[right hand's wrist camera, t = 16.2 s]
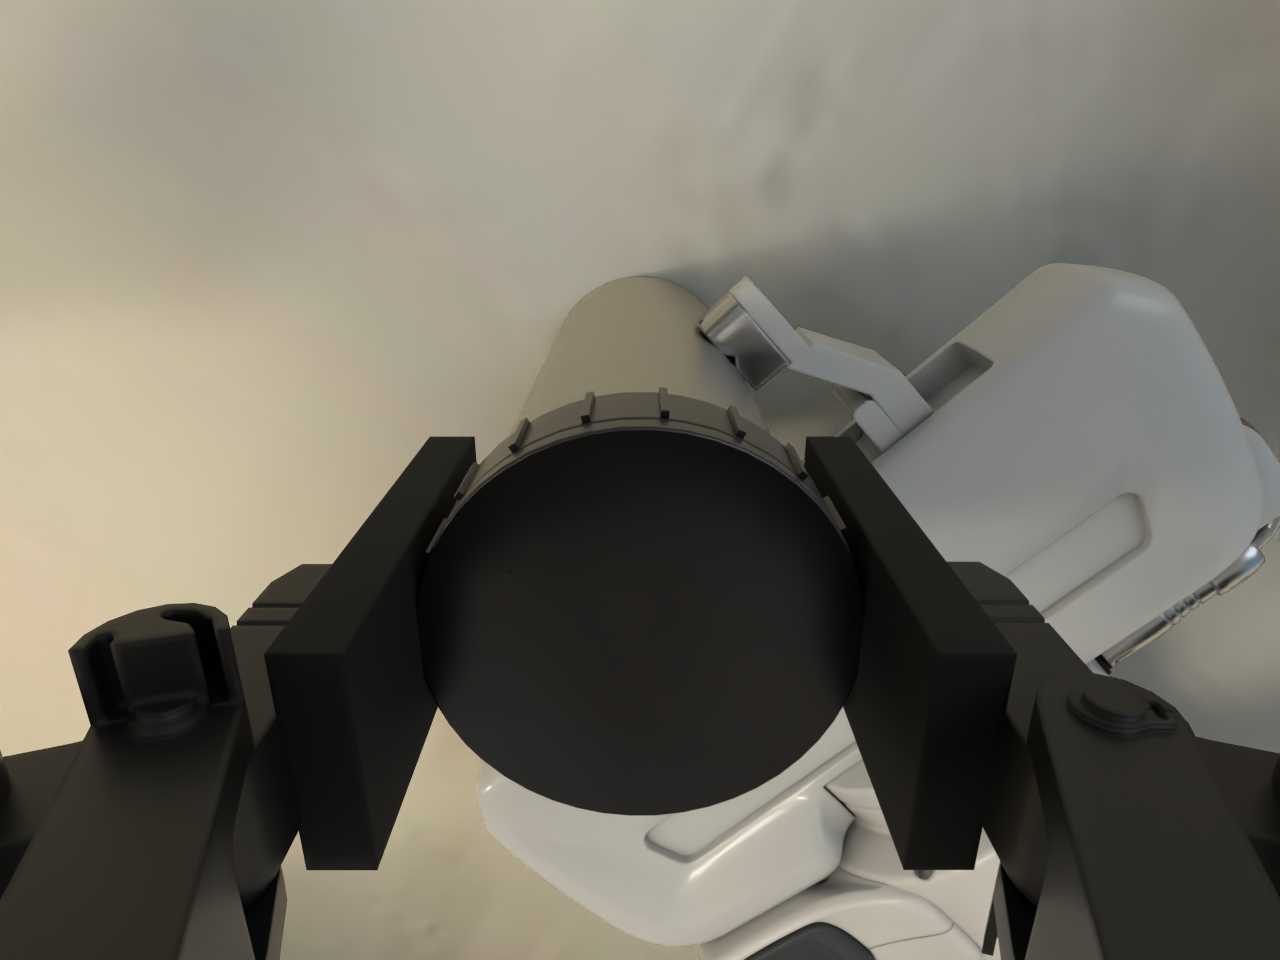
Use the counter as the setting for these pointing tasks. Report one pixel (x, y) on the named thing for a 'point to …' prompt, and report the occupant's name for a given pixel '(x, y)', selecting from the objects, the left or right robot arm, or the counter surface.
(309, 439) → the counter surface
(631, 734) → the lid
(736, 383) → the thermos bottle
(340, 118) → the counter surface
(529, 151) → the counter surface
